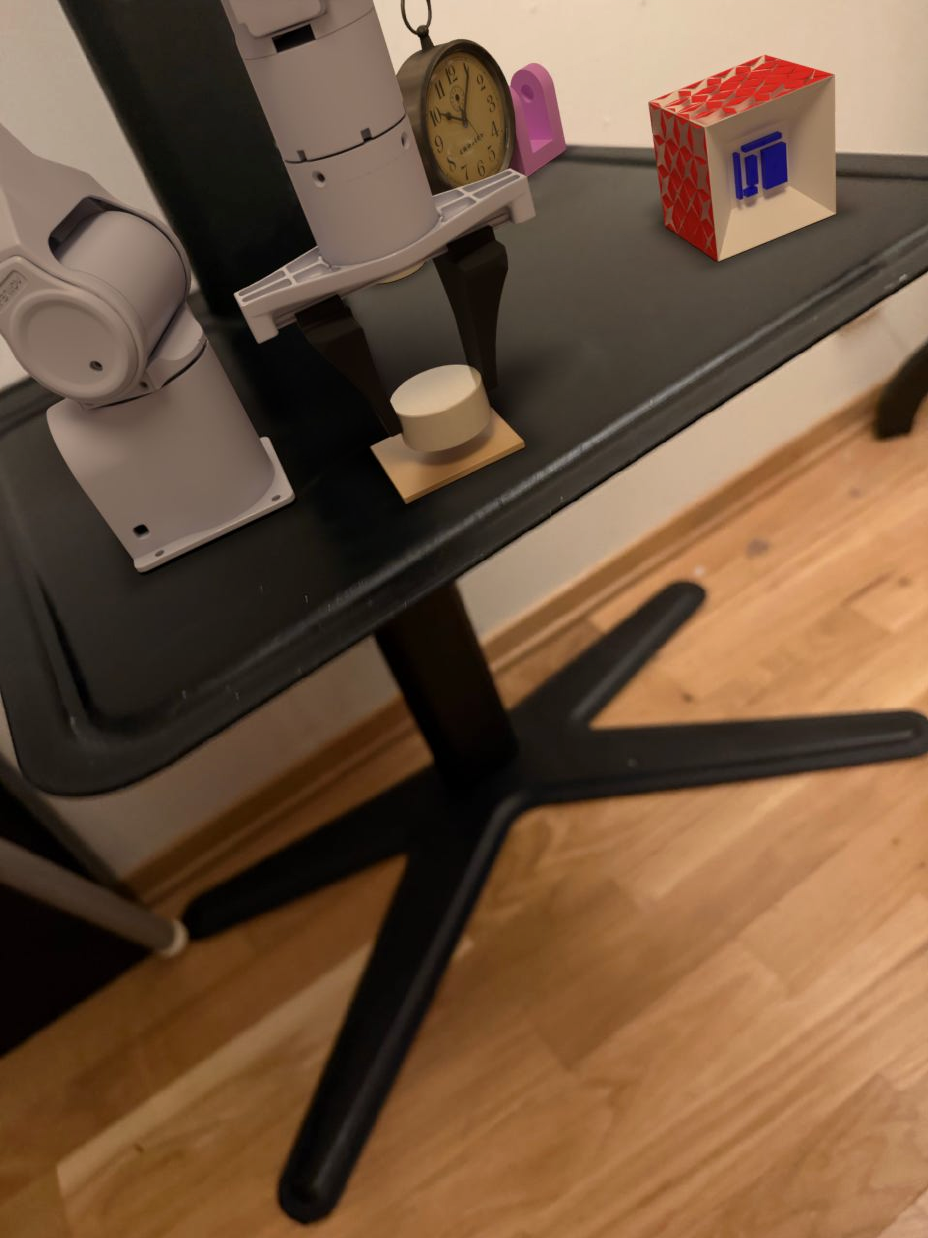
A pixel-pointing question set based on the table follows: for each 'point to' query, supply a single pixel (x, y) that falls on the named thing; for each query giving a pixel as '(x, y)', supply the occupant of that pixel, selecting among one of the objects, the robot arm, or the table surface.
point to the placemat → (443, 459)
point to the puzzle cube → (746, 154)
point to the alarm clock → (457, 110)
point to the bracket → (535, 119)
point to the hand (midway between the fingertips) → (439, 404)
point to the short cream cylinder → (442, 408)
